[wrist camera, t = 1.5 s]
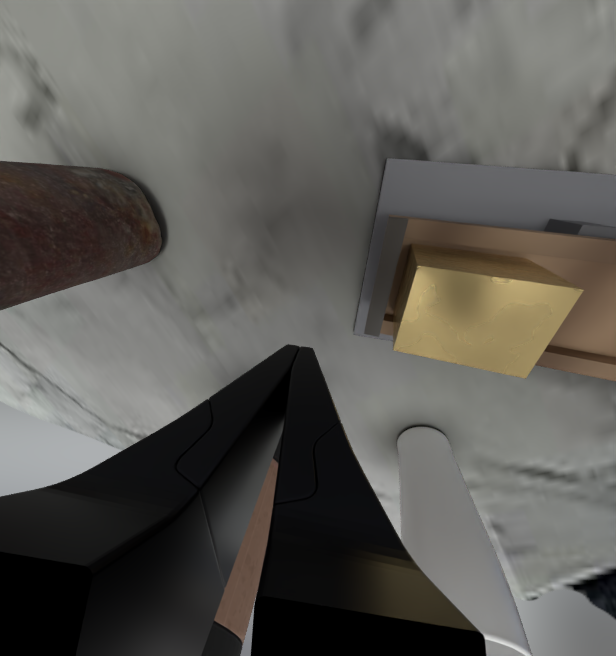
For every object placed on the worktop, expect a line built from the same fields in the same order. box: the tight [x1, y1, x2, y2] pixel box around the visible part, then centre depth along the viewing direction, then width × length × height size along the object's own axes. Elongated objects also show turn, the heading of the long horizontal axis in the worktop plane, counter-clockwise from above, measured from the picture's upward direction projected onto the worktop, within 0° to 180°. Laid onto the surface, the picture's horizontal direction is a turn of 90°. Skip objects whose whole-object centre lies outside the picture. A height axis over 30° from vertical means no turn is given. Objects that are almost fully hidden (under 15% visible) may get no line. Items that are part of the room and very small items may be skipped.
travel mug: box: [201, 431, 283, 656], centre depth 21 cm, size 8×8×20 cm
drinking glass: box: [397, 427, 532, 656], centre depth 22 cm, size 7×7×15 cm
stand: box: [354, 158, 616, 341], centre depth 17 cm, size 23×13×4 cm, turn 86°
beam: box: [364, 215, 616, 381], centre depth 14 cm, size 22×7×2 cm, turn 86°
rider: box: [393, 243, 584, 379], centre depth 14 cm, size 6×4×5 cm
